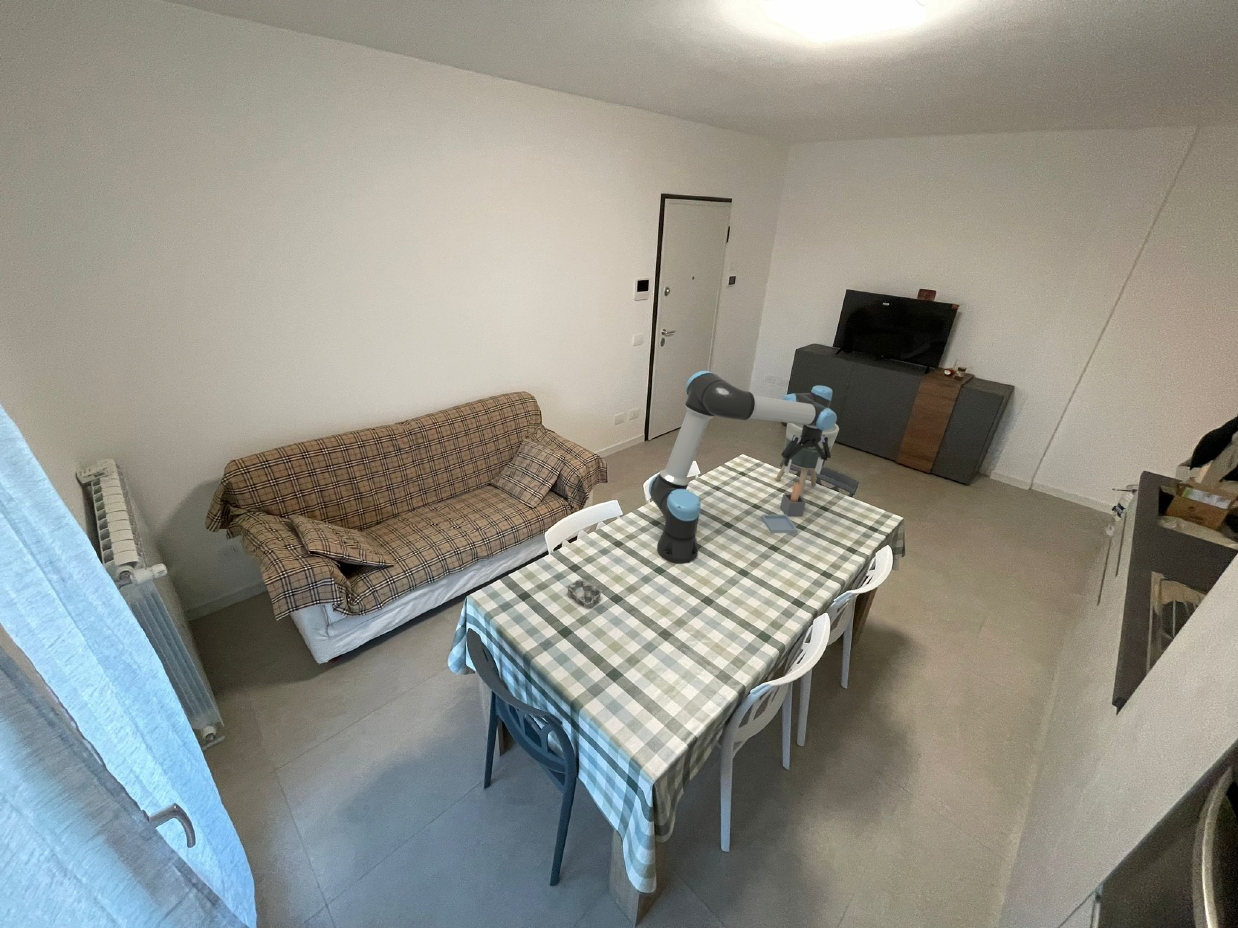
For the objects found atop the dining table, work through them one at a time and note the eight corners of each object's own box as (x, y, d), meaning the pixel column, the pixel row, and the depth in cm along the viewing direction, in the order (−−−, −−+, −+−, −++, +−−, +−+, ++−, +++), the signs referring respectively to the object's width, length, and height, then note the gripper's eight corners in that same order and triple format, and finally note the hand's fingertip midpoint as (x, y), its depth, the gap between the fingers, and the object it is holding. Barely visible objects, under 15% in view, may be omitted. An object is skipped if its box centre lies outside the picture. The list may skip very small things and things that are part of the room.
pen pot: (786, 517, 209) (789, 502, 206) (779, 508, 216) (783, 494, 212) (801, 517, 210) (805, 502, 207) (794, 508, 216) (798, 494, 213)
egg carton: (564, 595, 160) (564, 585, 158) (580, 584, 165) (580, 574, 163) (588, 611, 154) (588, 601, 152) (604, 599, 159) (604, 589, 157)
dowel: (788, 513, 211) (796, 485, 205) (786, 510, 214) (793, 482, 207) (795, 513, 212) (803, 485, 205) (792, 510, 214) (799, 482, 208)
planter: (766, 476, 242) (780, 413, 226) (807, 476, 244) (824, 414, 229) (783, 500, 223) (800, 432, 207) (828, 499, 225) (849, 433, 210)
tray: (770, 534, 198) (771, 530, 197) (760, 518, 207) (761, 514, 207) (796, 533, 199) (797, 529, 198) (785, 518, 209) (786, 514, 208)
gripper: (787, 428, 189) (776, 477, 199) (848, 429, 192) (834, 476, 202) (779, 421, 196) (769, 468, 206) (838, 421, 199) (825, 468, 209)
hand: (801, 472), depth 204 cm, fingers open, 13 cm apart
